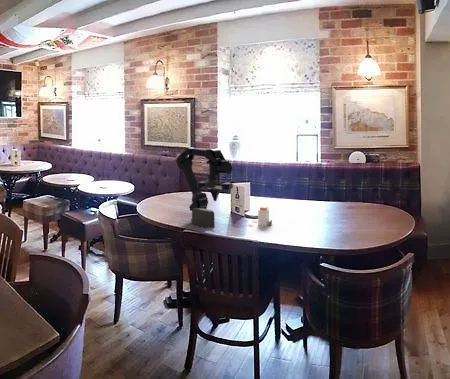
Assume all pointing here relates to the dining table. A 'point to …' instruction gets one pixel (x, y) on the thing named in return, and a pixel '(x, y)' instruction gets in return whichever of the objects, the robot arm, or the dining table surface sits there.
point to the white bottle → (263, 216)
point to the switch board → (259, 225)
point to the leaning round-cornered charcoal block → (203, 217)
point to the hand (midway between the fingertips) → (215, 201)
